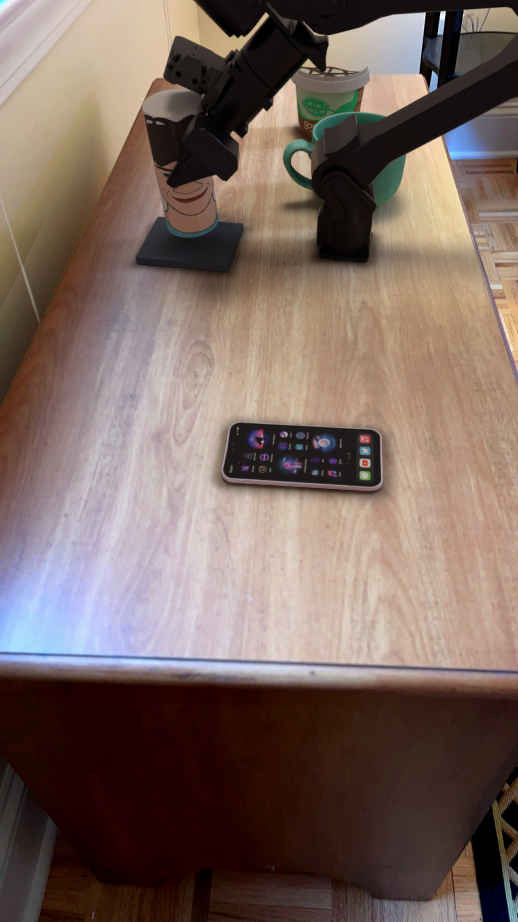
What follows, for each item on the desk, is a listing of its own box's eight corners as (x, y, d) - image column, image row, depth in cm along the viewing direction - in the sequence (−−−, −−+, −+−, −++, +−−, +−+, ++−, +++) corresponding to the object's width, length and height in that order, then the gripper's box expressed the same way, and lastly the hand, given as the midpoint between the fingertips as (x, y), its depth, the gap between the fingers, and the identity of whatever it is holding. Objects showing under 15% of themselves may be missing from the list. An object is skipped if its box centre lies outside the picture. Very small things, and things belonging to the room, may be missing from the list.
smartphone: (383, 488, 63) (220, 478, 64) (382, 492, 63) (220, 482, 64) (381, 429, 68) (230, 420, 69) (380, 433, 68) (230, 424, 69)
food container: (281, 141, 110) (281, 74, 102) (291, 125, 114) (292, 58, 106) (357, 150, 107) (363, 81, 100) (365, 133, 111) (371, 65, 104)
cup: (159, 235, 87) (133, 115, 75) (176, 205, 91) (153, 87, 79) (209, 239, 86) (191, 118, 74) (224, 209, 90) (209, 89, 78)
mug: (392, 175, 102) (400, 109, 95) (406, 220, 94) (417, 151, 87) (280, 180, 102) (280, 113, 95) (285, 225, 94) (285, 156, 86)
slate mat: (243, 230, 93) (243, 223, 92) (227, 272, 87) (227, 265, 86) (158, 222, 95) (157, 216, 94) (136, 263, 88) (135, 257, 88)
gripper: (211, -18, 76) (130, 90, 85) (193, 43, 64) (101, 161, 73) (283, 58, 82) (200, 152, 91) (279, 127, 69) (184, 228, 78)
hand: (173, 170), depth 83 cm, fingers closed on cup, 7 cm apart
